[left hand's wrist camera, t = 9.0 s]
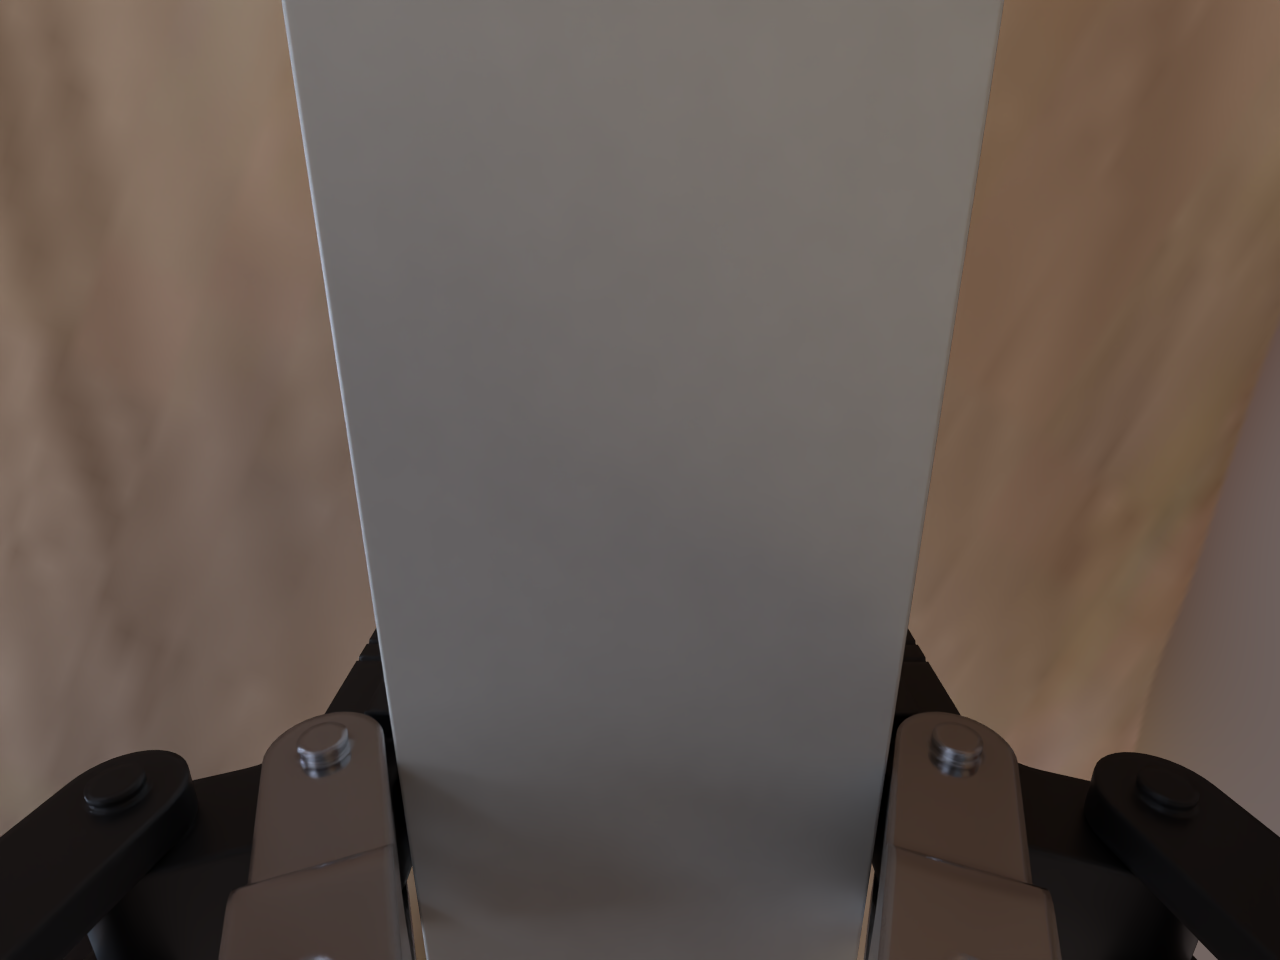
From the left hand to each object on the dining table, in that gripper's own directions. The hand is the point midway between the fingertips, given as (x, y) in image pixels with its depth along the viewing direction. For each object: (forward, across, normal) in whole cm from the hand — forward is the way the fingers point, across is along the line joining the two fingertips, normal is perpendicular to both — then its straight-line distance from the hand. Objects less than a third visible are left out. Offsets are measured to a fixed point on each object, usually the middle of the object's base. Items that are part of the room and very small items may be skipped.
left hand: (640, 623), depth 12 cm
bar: (+4, 0, -10) cm, 10 cm away
